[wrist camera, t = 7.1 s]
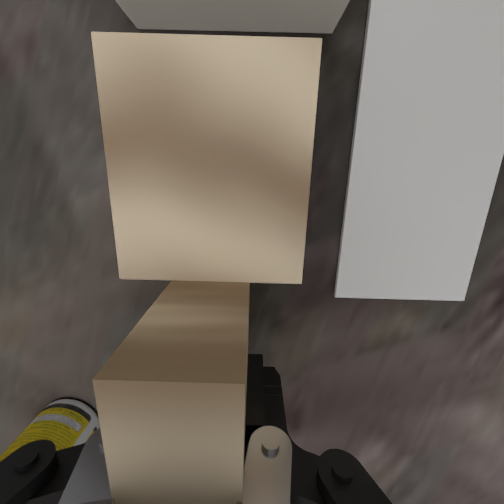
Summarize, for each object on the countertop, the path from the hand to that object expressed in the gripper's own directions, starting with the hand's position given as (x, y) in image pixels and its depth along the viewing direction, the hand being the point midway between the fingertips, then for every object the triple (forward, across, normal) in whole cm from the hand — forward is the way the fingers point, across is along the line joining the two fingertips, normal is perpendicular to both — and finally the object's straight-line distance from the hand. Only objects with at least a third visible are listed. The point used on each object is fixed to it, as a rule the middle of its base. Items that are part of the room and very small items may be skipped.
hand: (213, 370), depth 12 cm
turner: (0, 0, -3) cm, 3 cm away
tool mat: (+9, -13, -11) cm, 20 cm away
